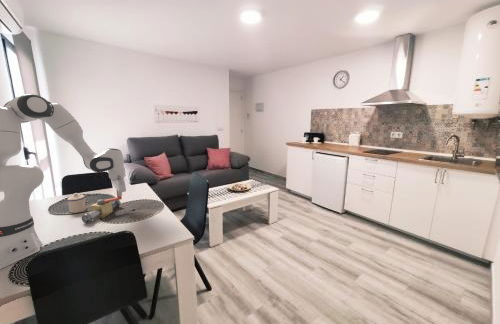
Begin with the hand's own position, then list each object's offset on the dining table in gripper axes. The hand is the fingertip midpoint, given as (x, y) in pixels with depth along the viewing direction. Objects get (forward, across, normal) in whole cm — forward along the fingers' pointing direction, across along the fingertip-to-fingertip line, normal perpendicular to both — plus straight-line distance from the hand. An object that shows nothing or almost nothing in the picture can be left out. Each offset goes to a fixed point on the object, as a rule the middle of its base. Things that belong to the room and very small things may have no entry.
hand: (120, 195), depth 137 cm
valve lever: (+3, +3, +5) cm, 7 cm away
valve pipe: (+11, +3, +10) cm, 15 cm away
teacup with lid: (+11, +22, +21) cm, 32 cm away
